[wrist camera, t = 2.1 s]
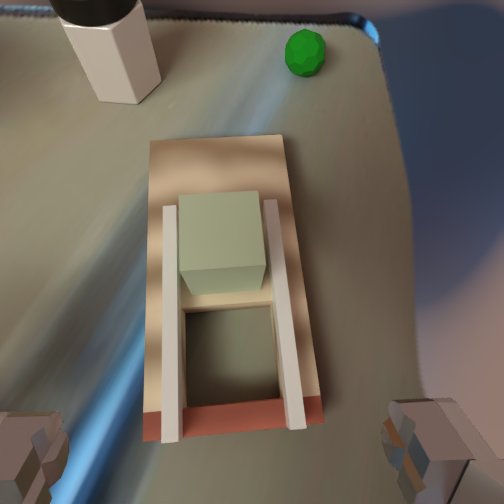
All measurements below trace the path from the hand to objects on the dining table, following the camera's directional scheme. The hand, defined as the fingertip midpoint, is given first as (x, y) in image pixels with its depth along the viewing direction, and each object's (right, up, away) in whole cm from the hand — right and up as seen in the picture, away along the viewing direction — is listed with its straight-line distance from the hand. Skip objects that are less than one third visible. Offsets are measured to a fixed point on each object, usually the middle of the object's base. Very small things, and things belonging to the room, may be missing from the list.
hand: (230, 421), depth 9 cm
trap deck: (-2, +2, +25) cm, 25 cm away
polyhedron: (+7, +28, +35) cm, 45 cm away
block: (-2, +3, +23) cm, 23 cm away
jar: (-15, +25, +34) cm, 45 cm away
